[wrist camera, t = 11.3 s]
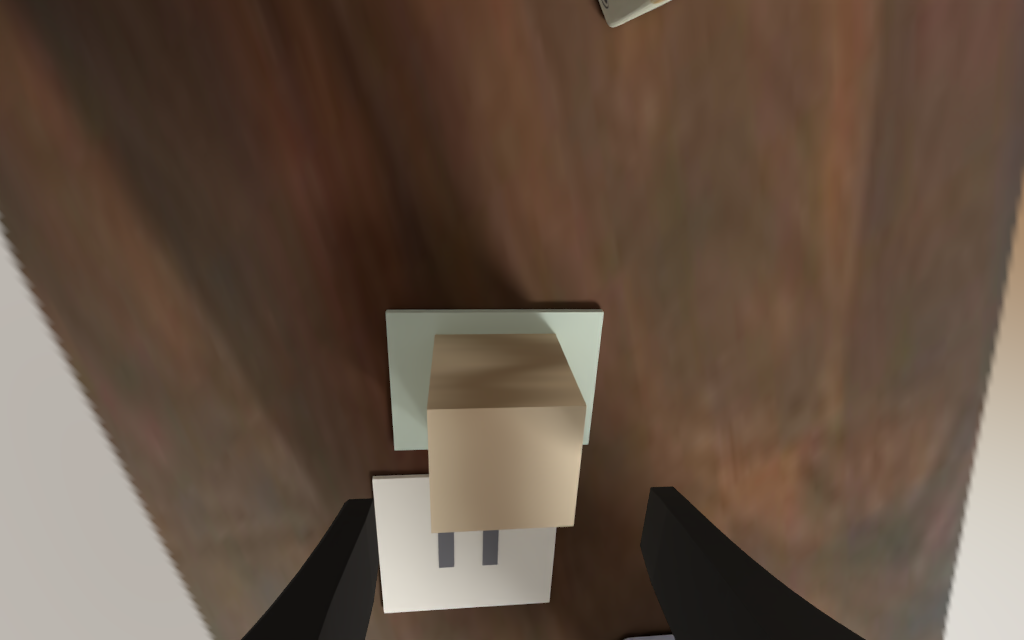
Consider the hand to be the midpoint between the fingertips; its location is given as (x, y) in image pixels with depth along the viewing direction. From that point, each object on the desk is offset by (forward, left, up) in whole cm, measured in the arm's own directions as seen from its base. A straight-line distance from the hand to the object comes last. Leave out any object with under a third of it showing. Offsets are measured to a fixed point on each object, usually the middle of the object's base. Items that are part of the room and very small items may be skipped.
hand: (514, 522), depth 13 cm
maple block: (0, 0, -7) cm, 7 cm away
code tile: (+1, +8, -7) cm, 11 cm away
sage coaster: (0, 0, -7) cm, 7 cm away
